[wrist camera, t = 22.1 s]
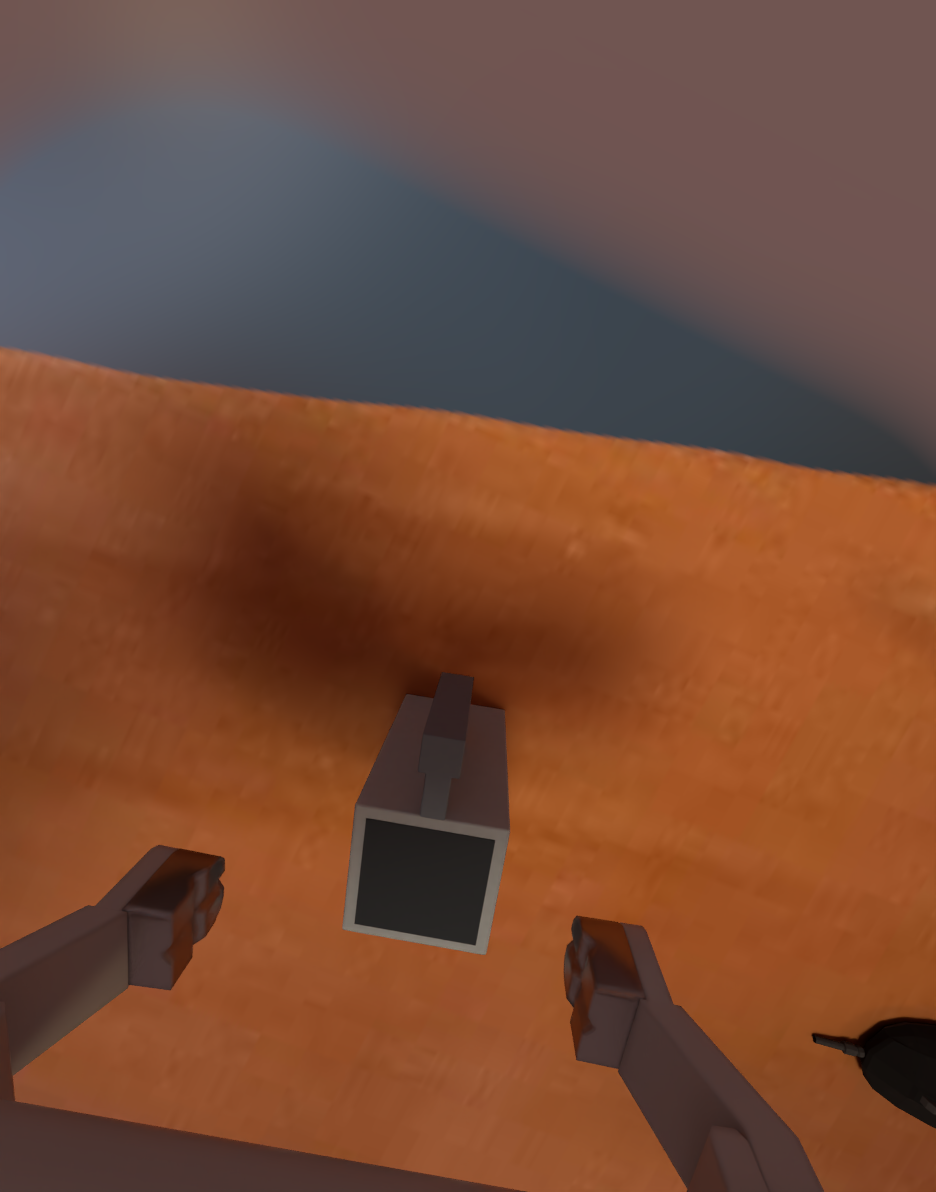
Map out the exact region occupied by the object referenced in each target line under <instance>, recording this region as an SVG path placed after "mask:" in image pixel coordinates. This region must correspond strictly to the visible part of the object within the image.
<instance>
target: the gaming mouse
mask: <svg viewBox="0 0 936 1192" xmlns="http://www.w3.org/2000/svg"><path fill="white" fill-rule="evenodd" d="M813 1041H814V1042H815V1043H817V1044H821V1045H824V1046H828V1047H832V1048H835V1049H839V1050H842V1051H843V1053H845V1054H848V1055H852V1056H856V1055H857V1056H858V1057H860V1060H861V1066H862V1071H863V1075H864V1077H865V1078H866V1080H867V1081H868V1083H869V1084H870V1086H871V1087H872V1088H873V1089H874V1090H875V1091H876V1092H878V1093H879V1094H880V1095H882V1096H883V1097H884V1098H886V1099H887V1100H888V1101H889V1102H891V1103H892V1104H893V1105H895V1106H896V1107H898V1108H899V1109H901V1110H903V1111H905V1112H907V1113H908V1114H910V1115H912V1116H914V1117H915V1118H917V1119H919V1120H921V1121H923V1122H924V1123H926V1124H928V1125H930V1126H932V1127H934V1128H936V1025H928V1024H918V1023H907V1022H903V1023H899V1024H894V1025H890V1026H886V1027H884V1028H883V1029H882V1030H881V1031H880V1032H879V1033H877V1034H876V1035H875V1036H874V1037H873V1038H871V1039H870V1040H869V1041H868V1042H867V1043H866V1045H865V1047H864V1048H862V1047H861V1046H859V1045H853V1044H852V1043H850V1042H846V1041H843V1040H842V1041H840V1042H838V1041H834V1040H830V1039H826V1038H823V1037H819V1036H815V1035H813Z"/></svg>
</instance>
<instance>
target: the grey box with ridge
mask: <svg viewBox="0 0 936 1192" xmlns="http://www.w3.org/2000/svg"><path fill="white" fill-rule="evenodd" d="M473 680H474V677H470V676H463V675H457V674H451V673H445V672H442V674H441V677H440V680H439V683H438V686H437V690H436V693H435V696H434V698H429V697H422V696H416V695H410V694H406V696H405V698H404V700H403V702H402V704H401V707H400V709H399V711H398V713H397V715H396V718H395V720H394V722H393V724H392V726H391V728H390V731H389V733H388V735H387V737H386V739H385V741H384V744H383V746H382V748H381V750H380V752H379V754H378V757H377V759H376V761H375V763H374V765H373V767H372V770H371V772H370V774H369V776H368V778H367V781H366V783H365V785H364V787H363V789H362V791H361V794H360V796H359V798H358V800H357V802H356V804H355V812H354V822H353V831H352V841H351V851H350V860H349V870H348V879H347V889H346V899H345V908H344V918H343V929H344V930H348V931H354V932H359V933H365V934H370V935H376V936H381V937H387V938H393V939H398V940H404V941H409V942H415V943H421V944H426V945H432V946H437V947H443V948H448V949H454V950H460V951H465V952H471V953H476V954H482V955H485V954H486V952H487V947H488V942H489V937H490V932H491V927H492V922H493V916H494V911H495V906H496V901H497V896H498V891H499V886H500V880H501V875H502V870H503V865H504V860H505V855H506V850H507V845H508V839H509V834H510V819H509V796H508V773H507V749H506V726H505V710H502V709H496V708H490V707H484V706H478V705H471V696H472V688H473Z"/></svg>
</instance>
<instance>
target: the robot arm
mask: <svg viewBox="0 0 936 1192" xmlns="http://www.w3.org/2000/svg"><path fill="white" fill-rule="evenodd" d="M224 871H225V859H224V858H223V857H221V856H216V855H210V854H205V853H200V852H195V851H190V850H185V849H178V848H173V847H168V846H163V845H158V846H156V847H154V848H152V849H150V850H149V851H148V852H147V853H146V854H145V855H144V856H143V857H142V858H141V860H140V861H139V862H138V863H137V864H136V865H135V866H134V867H133V868H132V869H131V870H130V871H129V872H128V873H127V874H126V875H125V876H124V877H123V878H122V879H121V880H120V881H119V882H118V883H117V884H116V885H115V886H114V887H113V888H112V889H111V890H110V891H109V892H108V893H107V894H106V895H105V896H104V897H103V898H102V899H101V900H100V901H99V902H98V904H97V905H96V906H89V905H88V906H86V907H84V908H82V909H80V910H78V911H75V912H73V913H71V914H69V915H67V916H65V917H63V918H61V919H59V920H57V921H55V922H53V923H51V924H49V925H47V926H45V927H43V928H41V929H39V930H37V931H35V932H33V933H31V934H29V935H27V936H25V937H23V938H21V939H19V940H17V941H15V942H13V943H11V944H9V945H7V946H5V947H3V948H1V949H0V1192H526V1191H520V1190H514V1189H508V1188H503V1187H497V1186H491V1185H486V1184H480V1183H474V1182H469V1181H463V1180H457V1179H452V1178H446V1177H440V1176H435V1175H429V1174H423V1173H418V1172H412V1171H406V1170H401V1169H395V1168H390V1167H384V1166H378V1165H373V1164H367V1163H361V1162H356V1161H350V1160H345V1159H339V1158H333V1157H328V1156H322V1155H316V1154H311V1153H305V1152H300V1151H294V1150H288V1149H283V1148H277V1147H271V1146H266V1145H260V1144H254V1143H249V1142H243V1141H237V1140H232V1139H226V1138H220V1137H215V1136H209V1135H203V1134H198V1133H192V1132H186V1131H181V1130H175V1129H169V1128H164V1127H158V1126H152V1125H147V1124H141V1123H135V1122H130V1121H124V1120H118V1119H113V1118H107V1117H101V1116H96V1115H90V1114H84V1113H79V1112H73V1111H67V1110H62V1109H56V1108H50V1107H45V1106H39V1105H33V1104H28V1103H22V1102H16V1101H15V1095H14V1085H13V1075H14V1074H16V1073H17V1072H18V1071H20V1070H21V1069H22V1068H24V1067H25V1066H26V1065H28V1064H29V1063H30V1062H31V1061H33V1060H34V1059H35V1058H37V1057H38V1056H39V1055H41V1054H42V1053H43V1052H45V1051H46V1050H47V1049H48V1048H50V1047H51V1046H52V1045H54V1044H55V1043H56V1042H58V1041H59V1040H60V1039H62V1038H63V1037H64V1036H66V1035H67V1034H68V1033H69V1032H71V1031H72V1030H73V1029H75V1028H76V1027H77V1026H79V1025H80V1024H81V1023H83V1022H84V1021H85V1020H86V1019H88V1018H89V1017H90V1016H92V1015H93V1014H94V1013H96V1012H97V1011H98V1010H100V1009H101V1008H102V1007H104V1006H105V1005H106V1004H107V1003H109V1002H110V1001H111V1000H113V999H114V998H115V997H117V996H118V995H119V994H121V993H122V992H123V991H125V990H126V989H127V988H128V985H135V986H142V987H150V988H157V989H165V990H171V989H172V987H173V986H174V984H175V983H176V981H177V980H178V978H179V977H180V975H181V974H182V972H183V971H184V969H185V968H186V966H187V965H188V963H189V962H190V960H191V959H192V953H193V945H194V944H195V943H197V942H198V941H200V940H201V939H203V938H204V937H206V935H207V934H208V932H209V931H210V929H211V927H212V926H213V924H214V922H215V920H216V918H217V915H218V913H219V911H220V908H221V905H222V901H223V896H224V886H223V885H222V883H221V882H220V880H219V878H220V877H221V875H222V874H223V872H224ZM571 931H572V936H573V941H571V942H570V943H569V944H568V945H567V948H566V953H565V959H564V984H565V991H566V998H567V999H568V1001H569V1002H570V1004H571V1005H572V1006H573V1012H572V1016H571V1020H570V1024H571V1030H572V1036H573V1042H574V1048H575V1055H576V1060H578V1061H583V1062H588V1063H593V1064H597V1065H602V1066H607V1067H612V1068H617V1069H619V1070H618V1072H619V1074H620V1076H621V1077H622V1079H623V1081H624V1082H625V1084H626V1086H627V1087H628V1089H629V1091H630V1093H631V1094H632V1096H633V1098H634V1099H635V1101H636V1103H637V1104H638V1106H639V1108H640V1109H641V1111H642V1113H643V1115H644V1116H645V1118H646V1120H647V1121H648V1123H649V1125H650V1126H651V1128H652V1130H653V1131H654V1133H655V1135H656V1137H657V1138H658V1140H659V1142H660V1143H661V1145H662V1147H663V1148H664V1150H665V1152H666V1153H667V1155H668V1157H669V1159H670V1160H671V1162H672V1164H673V1165H674V1167H675V1169H676V1170H677V1172H678V1174H679V1175H680V1177H681V1179H682V1181H683V1182H684V1184H685V1186H686V1187H687V1189H688V1190H687V1192H824V1190H823V1188H822V1186H821V1184H820V1182H819V1180H818V1178H817V1176H816V1174H815V1172H814V1170H813V1168H812V1166H811V1164H810V1162H809V1159H808V1157H807V1155H806V1153H805V1151H804V1149H803V1147H802V1145H801V1143H800V1141H799V1139H798V1137H797V1136H796V1135H795V1134H794V1133H793V1132H792V1131H791V1129H790V1128H789V1127H788V1126H787V1125H786V1124H785V1123H784V1122H783V1120H782V1119H781V1118H780V1117H779V1116H778V1115H777V1114H776V1113H775V1111H774V1110H773V1109H772V1108H771V1107H770V1106H769V1105H768V1104H767V1102H766V1101H765V1100H764V1099H763V1098H762V1097H761V1096H760V1095H759V1093H758V1092H757V1091H756V1090H755V1089H754V1088H753V1087H752V1086H751V1084H750V1083H749V1082H748V1081H747V1080H746V1079H745V1078H744V1077H743V1075H742V1074H741V1073H740V1072H739V1071H738V1070H737V1069H736V1068H735V1066H734V1065H733V1064H732V1063H731V1062H730V1061H729V1060H728V1059H727V1057H726V1056H725V1055H724V1054H723V1053H722V1052H721V1051H720V1050H719V1048H718V1047H717V1046H716V1045H715V1044H714V1043H713V1042H712V1041H711V1039H710V1038H709V1037H708V1036H707V1035H706V1034H705V1033H704V1032H703V1031H702V1029H701V1028H700V1027H699V1026H698V1025H697V1024H696V1023H695V1022H694V1020H693V1019H692V1018H691V1017H690V1016H689V1015H688V1014H687V1013H686V1011H685V1010H684V1009H683V1008H682V1007H681V1006H678V1005H674V1004H673V1002H672V999H671V996H670V993H669V991H668V988H667V985H666V983H665V980H664V977H663V975H662V972H661V969H660V967H659V964H658V961H657V959H656V956H655V953H654V951H653V948H652V945H651V942H650V940H649V937H648V934H647V932H646V930H645V929H644V927H643V926H639V925H633V924H627V923H618V922H615V921H608V920H602V919H595V918H589V917H582V916H576V917H575V918H574V920H573V924H572V928H571Z"/></svg>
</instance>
